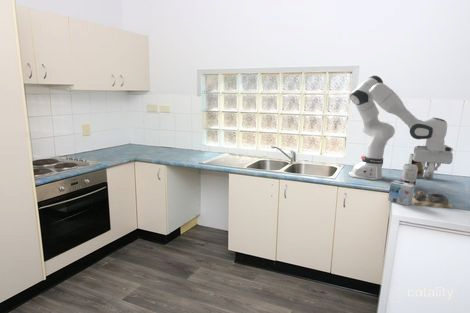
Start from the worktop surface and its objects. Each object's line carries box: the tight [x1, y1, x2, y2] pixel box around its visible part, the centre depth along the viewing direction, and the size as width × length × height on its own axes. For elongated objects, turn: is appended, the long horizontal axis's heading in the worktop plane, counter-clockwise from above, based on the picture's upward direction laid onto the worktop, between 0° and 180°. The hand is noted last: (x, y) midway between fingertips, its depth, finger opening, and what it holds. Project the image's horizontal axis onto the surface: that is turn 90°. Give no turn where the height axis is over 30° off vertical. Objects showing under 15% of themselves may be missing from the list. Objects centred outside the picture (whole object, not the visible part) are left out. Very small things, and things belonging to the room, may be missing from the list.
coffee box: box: [407, 153, 425, 179], centre depth 228 cm, size 9×6×16 cm
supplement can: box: [400, 163, 418, 186], centre depth 201 cm, size 8×8×15 cm
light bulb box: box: [387, 179, 416, 207], centre depth 176 cm, size 11×7×11 cm, turn 45°
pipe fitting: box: [423, 162, 437, 181], centre depth 185 cm, size 4×4×10 cm
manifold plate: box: [412, 190, 453, 209], centre depth 176 cm, size 18×12×6 cm, turn 80°
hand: (429, 169), depth 185 cm, fingers closed on pipe fitting, 4 cm apart
